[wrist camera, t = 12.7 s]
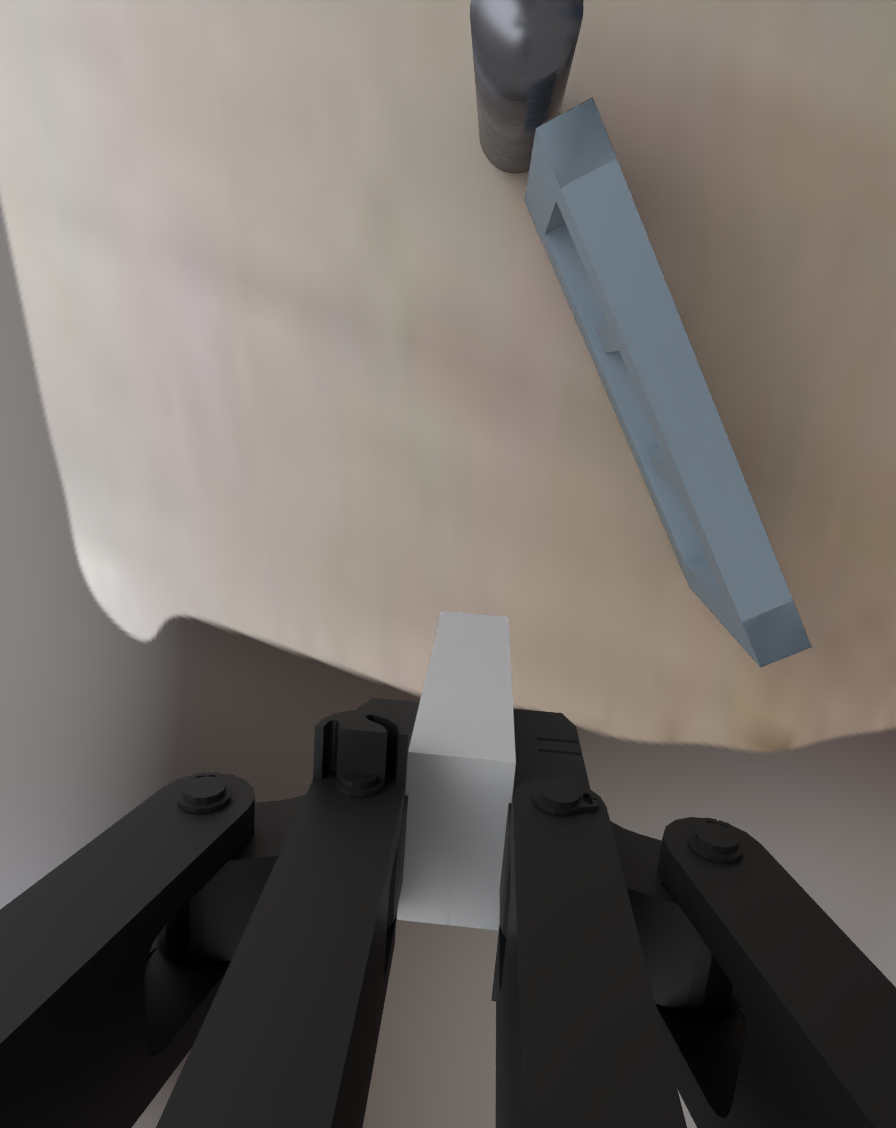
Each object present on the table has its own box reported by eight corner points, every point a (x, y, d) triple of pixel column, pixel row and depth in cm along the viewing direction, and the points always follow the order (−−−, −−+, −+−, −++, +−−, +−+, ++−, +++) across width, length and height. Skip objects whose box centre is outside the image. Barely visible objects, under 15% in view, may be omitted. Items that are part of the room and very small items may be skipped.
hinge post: (471, 104, 28) (456, -33, 19) (543, 79, 28) (568, -74, 18) (490, 183, 29) (486, 89, 19) (562, 159, 29) (594, 52, 19)
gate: (563, 179, 28) (592, 97, 20) (726, 571, 31) (811, 647, 23) (524, 200, 28) (535, 128, 20) (689, 587, 32) (760, 667, 23)
